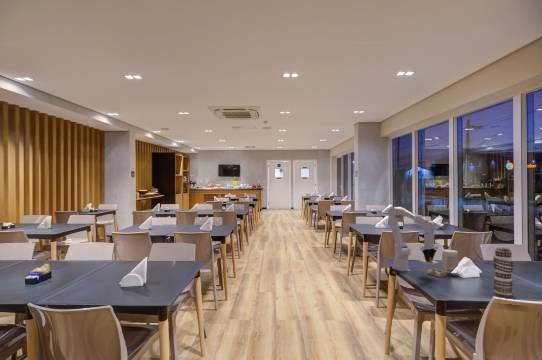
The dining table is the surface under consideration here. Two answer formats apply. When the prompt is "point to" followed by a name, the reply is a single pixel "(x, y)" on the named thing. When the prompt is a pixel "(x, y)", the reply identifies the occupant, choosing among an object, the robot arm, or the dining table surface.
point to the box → (432, 272)
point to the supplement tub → (449, 260)
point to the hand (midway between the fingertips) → (429, 260)
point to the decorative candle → (503, 271)
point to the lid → (429, 261)
